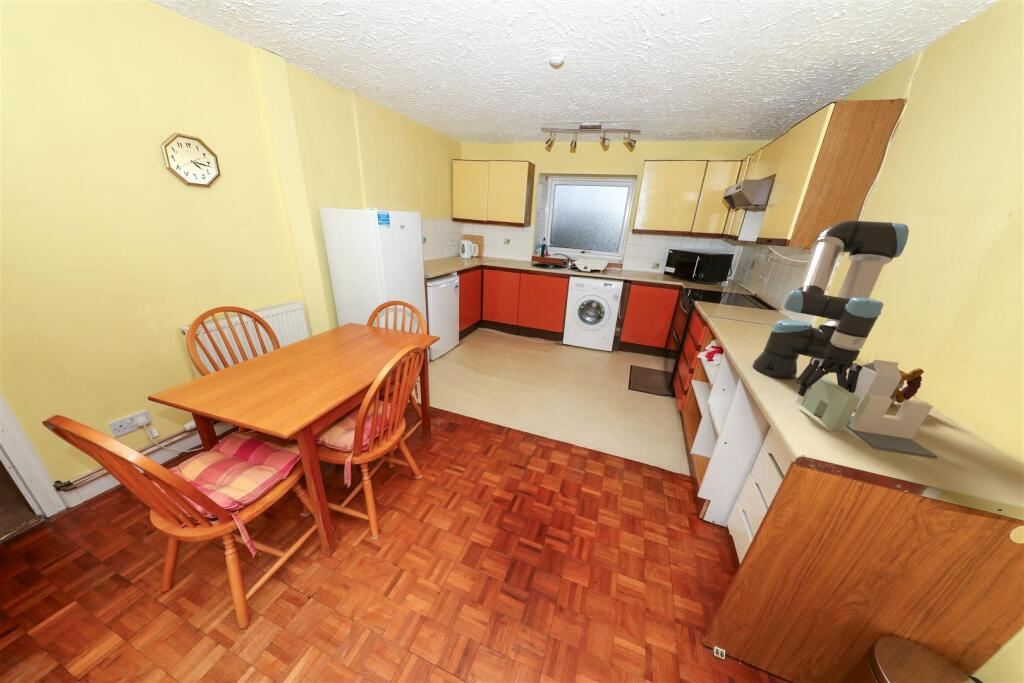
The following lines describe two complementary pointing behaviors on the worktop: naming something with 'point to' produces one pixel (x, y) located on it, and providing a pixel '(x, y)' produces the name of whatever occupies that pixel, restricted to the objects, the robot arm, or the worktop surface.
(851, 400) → the pale green tall block
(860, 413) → the notched wall on base
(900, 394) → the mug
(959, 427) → the worktop surface
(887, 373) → the milk carton
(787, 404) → the worktop surface
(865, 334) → the robot arm
